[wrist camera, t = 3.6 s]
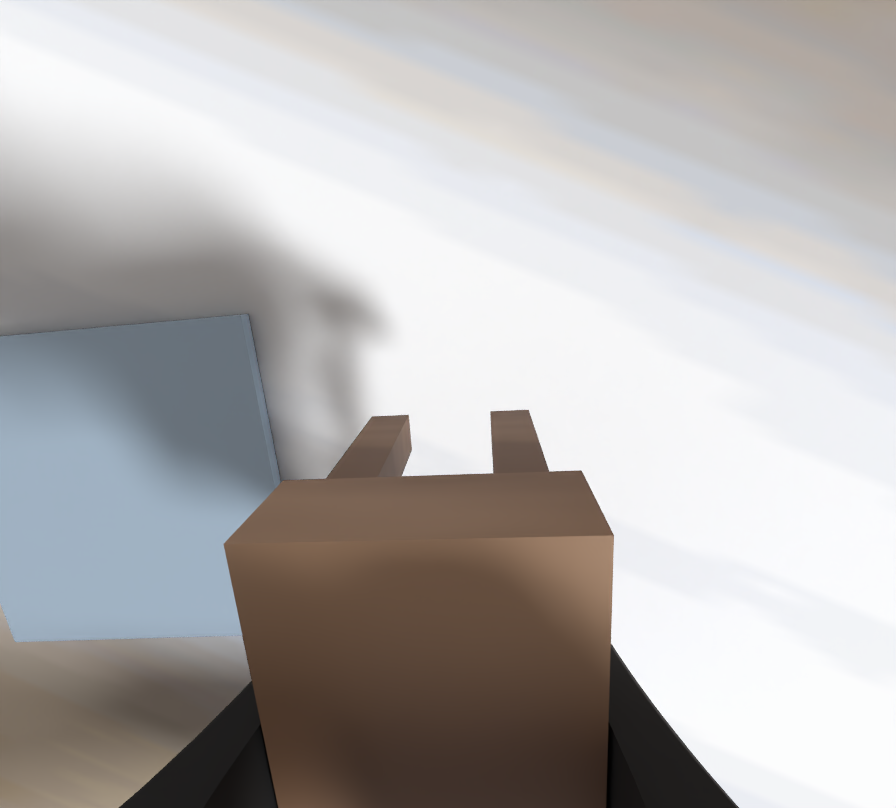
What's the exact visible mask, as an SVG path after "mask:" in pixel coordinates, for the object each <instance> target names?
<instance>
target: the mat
mask: <svg viewBox="0 0 896 808" xmlns="http://www.w3.org/2000/svg"><path fill="white" fill-rule="evenodd" d="M280 483H281V480H280V475H279V470H278V464H277V459H276V454H275V449H274V444H273V439H272V434H271V428H270V423H269V418H268V413H267V408H266V403H265V398H264V392H263V387H262V382H261V377H260V372H259V367H258V362H257V356H256V351H255V346H254V341H253V336H252V331H251V326H250V320H249V315H248V314H243V315H232V316H220V317H209V318H198V319H187V320H176V321H165V322H153V323H142V324H131V325H120V326H109V327H97V328H86V329H75V330H64V331H53V332H41V333H30V334H19V335H8V336H0V604H1V607H2V609H3V612H4V614H5V617H6V620H7V622H8V625H9V627H10V630H11V633H12V635H13V638H14V640H15V642H32V641H66V640H101V639H135V638H170V637H204V636H239V635H242V631H241V626H240V621H239V617H238V612H237V607H236V602H235V597H234V593H233V588H232V583H231V578H230V573H229V569H228V564H227V559H226V554H225V549H224V545H223V544H224V543H225V542H226V541H227V540H228V539H229V537H230V536H231V535H232V534H233V533H234V532H235V531H236V530H237V529H238V528H239V527H240V526H241V525H242V524H243V523H244V522H245V520H246V519H247V518H248V517H249V516H250V515H251V514H252V513H253V512H254V511H255V510H256V509H257V508H258V507H259V506H260V505H261V503H262V502H263V501H264V500H265V499H266V498H267V497H268V496H269V495H270V494H271V493H272V492H273V491H274V490H275V489H276V488H277V486H278V485H279V484H280Z"/></svg>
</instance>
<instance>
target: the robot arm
mask: <svg viewBox="0 0 896 808" xmlns="http://www.w3.org/2000/svg"><path fill="white" fill-rule="evenodd" d="M119 808H278V804H277V799H276V794H275V789H274V784H273V780H272V775H271V770H270V765H269V760H268V756H267V751H266V746H265V741H264V736H263V732H262V727H261V722H260V717H259V713H258V708H257V703H256V698H255V693H254V689H253V684H252V681H251V682H250V683H249V684H248V685H247V686H246V687H245V688H244V689H243V690H242V692H241V693H240V694H239V695H238V696H237V697H236V698H235V699H234V700H233V701H232V702H231V703H230V704H229V705H228V706H227V707H226V708H225V709H224V710H223V711H222V712H221V713H220V714H219V715H218V716H217V717H216V718H215V719H214V720H213V721H212V722H211V723H210V724H209V725H208V726H207V727H206V728H205V729H204V730H203V731H202V732H201V733H200V734H199V735H198V736H197V737H196V738H195V739H194V740H193V741H192V742H191V743H189V744H188V745H187V746H186V747H185V748H184V749H183V750H182V751H181V752H180V753H179V754H178V755H177V756H176V757H175V758H173V759H172V760H171V761H170V762H169V763H168V764H167V765H166V766H165V767H164V768H163V769H162V770H161V771H160V772H159V773H157V774H156V775H155V776H154V777H153V778H152V779H151V780H150V781H149V782H148V783H147V784H146V785H144V786H143V787H142V788H141V789H140V790H139V791H138V792H136V793H135V794H134V795H133V796H132V797H131V798H130V799H128V800H127V801H126V802H125V803H124V804H123V805H121V806H120V807H119ZM606 808H739V807H738V806H737V805H736V804H735V803H734V802H733V801H732V799H731V798H730V797H729V796H728V795H727V794H726V793H725V791H724V790H723V789H722V788H721V787H720V786H719V784H718V783H717V782H716V781H715V780H714V779H713V778H712V776H711V775H710V774H709V773H708V772H707V771H706V769H705V768H704V767H703V766H702V765H701V763H700V762H699V761H698V760H697V759H696V757H695V756H694V755H693V754H692V753H691V751H690V750H689V749H688V748H687V746H686V745H685V744H684V743H683V741H682V740H681V739H680V738H679V736H678V735H677V734H676V733H675V731H674V730H673V729H672V728H671V726H670V725H669V724H668V722H667V721H666V720H665V719H664V717H663V716H662V715H661V714H660V712H659V711H658V710H657V708H656V707H655V706H654V704H653V703H652V702H651V700H650V699H649V698H648V696H647V695H646V693H645V692H644V691H643V689H642V688H641V687H640V685H639V684H638V682H637V681H636V680H635V678H634V677H633V675H632V674H631V673H630V671H629V670H628V668H627V667H626V665H625V664H624V662H623V661H622V659H621V658H620V656H619V655H618V653H617V652H616V650H615V649H614V647H613V646H612V644H611V651H610V686H609V722H608V757H607V792H606Z"/></svg>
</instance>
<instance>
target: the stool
mask: <svg viewBox="0 0 896 808" xmlns="http://www.w3.org/2000/svg"><path fill="white" fill-rule="evenodd" d="M491 436H492V455H493V472H494V473H493V474H462V475H432V476H402V474H403V471H404V468H405V466H406V463H407V461H408V458H409V456H410V453H411V450H412V447H411V436H410V425H409V415H398V416H374V417H371V419H370V420H369V421H368V423H367V424H366V426H365V427H364V428H363V430H362V431H361V432H360V434H359V435H358V436H357V438H356V439H355V440H354V442H353V443H352V444H351V446H350V447H349V448H348V450H347V451H346V452H345V454H344V455H343V456H342V458H341V459H340V460H339V462H338V463H337V464H336V466H335V467H334V469H333V470H332V471H331V473H330V474H329V475H328V477H327V478H326V479H309V480H283V481H282V482H281V483H280V484H279V485H278V486H277V488H276V489H275V490H274V491H273V492H272V493H271V494H270V495H269V496H268V497H267V498H266V499H265V500H264V501H263V502H262V503H261V505H260V506H259V507H258V508H257V509H256V510H255V511H254V512H253V513H252V514H251V515H250V516H249V517H248V518H247V519H246V520H245V522H244V523H243V524H242V525H241V526H240V527H239V528H238V529H237V530H236V531H235V532H234V533H233V534H232V535H231V536H230V537H229V539H228V540H227V541H226V542H225V543H224V544H223V545H224V549H225V554H226V559H227V564H228V569H229V573H230V578H231V583H232V588H233V593H234V597H235V602H236V607H237V612H238V617H239V621H240V626H241V631H242V636H243V641H244V645H245V650H246V655H247V660H248V665H249V669H250V674H251V679H252V684H253V689H254V693H255V698H256V703H257V708H258V713H259V717H260V722H261V727H262V732H263V736H264V741H265V746H266V751H267V756H268V760H269V765H270V770H271V775H272V780H273V784H274V789H275V794H276V799H277V804H278V808H606V792H607V757H608V722H609V686H610V651H611V616H612V581H613V546H614V535H613V533H612V531H611V529H610V527H609V525H608V523H607V521H606V519H605V517H604V515H603V513H602V511H601V509H600V507H599V505H598V503H597V501H596V499H595V497H594V495H593V493H592V491H591V489H590V487H589V485H588V483H587V481H586V479H585V477H584V475H583V473H582V471H554V472H549V470H548V467H547V464H546V461H545V458H544V455H543V452H542V449H541V446H540V443H539V440H538V437H537V434H536V431H535V428H534V425H533V422H532V419H531V416H530V413H529V410H514V411H491Z"/></svg>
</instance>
